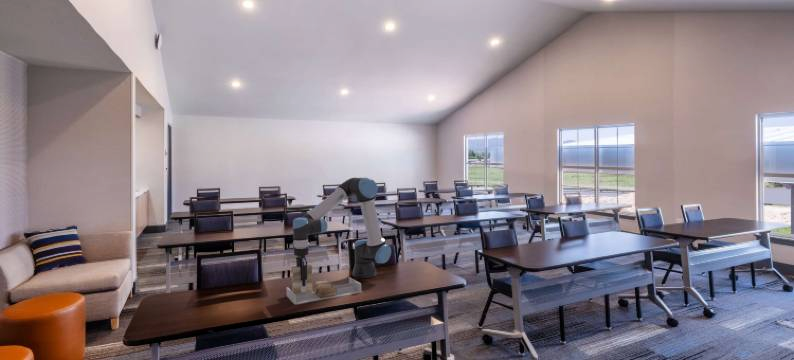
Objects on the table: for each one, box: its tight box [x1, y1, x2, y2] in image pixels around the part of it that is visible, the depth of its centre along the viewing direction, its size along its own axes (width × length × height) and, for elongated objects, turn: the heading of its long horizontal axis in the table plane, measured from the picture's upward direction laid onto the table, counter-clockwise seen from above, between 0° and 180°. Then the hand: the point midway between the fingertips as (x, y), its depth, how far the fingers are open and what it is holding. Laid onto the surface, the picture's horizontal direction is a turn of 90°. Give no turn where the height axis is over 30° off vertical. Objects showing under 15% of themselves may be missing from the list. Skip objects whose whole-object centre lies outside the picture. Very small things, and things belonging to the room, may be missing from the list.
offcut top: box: [315, 280, 332, 290], centre depth 235 cm, size 9×6×2 cm
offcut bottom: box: [313, 288, 335, 298], centre depth 235 cm, size 12×8×2 cm, turn 28°
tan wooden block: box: [291, 264, 314, 296], centre depth 229 cm, size 4×10×17 cm, turn 119°
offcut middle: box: [314, 285, 336, 295], centre depth 235 cm, size 11×7×2 cm
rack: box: [286, 276, 362, 305], centre depth 235 cm, size 16×37×6 cm, turn 118°
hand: (302, 290), depth 229 cm, fingers closed on tan wooden block, 3 cm apart
